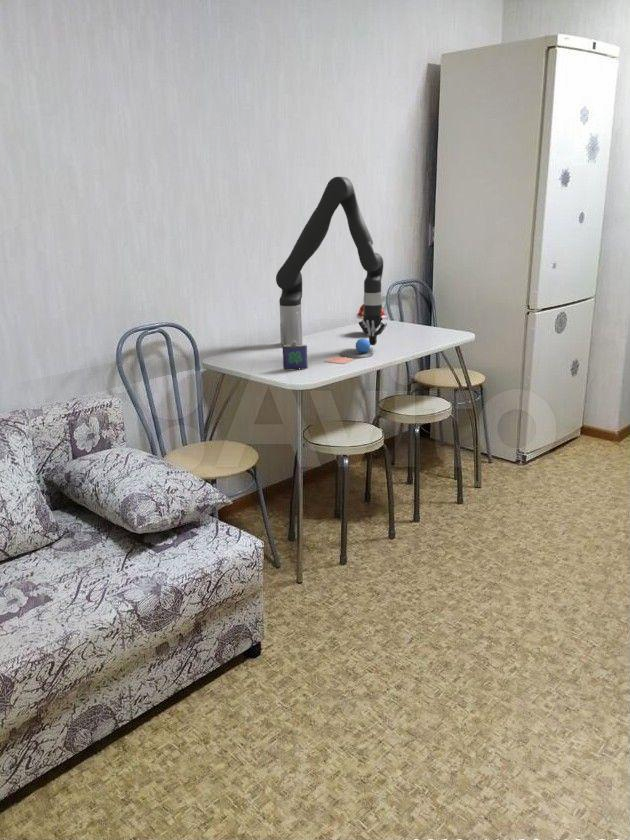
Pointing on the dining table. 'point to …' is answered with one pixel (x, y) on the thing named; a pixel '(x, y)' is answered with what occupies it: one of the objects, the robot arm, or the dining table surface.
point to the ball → (362, 345)
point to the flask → (295, 356)
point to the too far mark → (339, 360)
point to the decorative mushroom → (361, 314)
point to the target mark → (355, 354)
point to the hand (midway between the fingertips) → (372, 344)
